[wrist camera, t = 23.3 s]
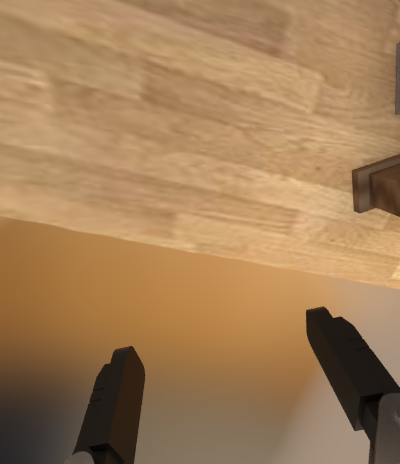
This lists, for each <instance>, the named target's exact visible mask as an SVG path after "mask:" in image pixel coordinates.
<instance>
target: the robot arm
mask: <svg viewBox="0 0 400 464" xmlns="http://www.w3.org/2000/svg"><path fill="white" fill-rule="evenodd" d="M306 327H307V337H308V340H309V342H310V345H311V347H312V349H313V351H314V353H315V355H316V357H317V359H318V361H319V363H320V365H321V367H322V368H323V370H324V373H325V374H326V376H327V378H328V380H329V382H330V384H331V386H332V388H333V390H334V392H335V394H336V396H337V398H338V400H339V402H340V404H341V406H342V407H343V409H344V411H345V413H346V415H347V417H348V419H349V421H350V423H351V425H352V427H353V429H354V431H358V430H364V431H365V433H366V434H367V436H368V438H369V440H370V449H369V463H368V464H400V387H399V386H398V385H397V383H396V382H395V381H394V379H393V378H392V377H391V375H390V374H389V373H388V371H387V370H386V369H385V367H384V366H383V364H382V363H381V362H380V360H379V359H378V358H377V357H376V355H375V354H374V352H373V351H372V350H371V349H370V348H369V346H368V345H367V343H366V342H365V340H364V339H362V336H361V335H360V334H359V332H358V331H357V330H356V328H355V327H354V326H353V325H352V324H351V323H349V322H348V321H347V320H345V319H343V318H342V317H336V318H333V317H332V316H331V314H330V313H329V311H328V310H327V309H326V308H325V307H318V308H314V309H309V310H307V311H306ZM144 383H145V370H144V366H143V364H142V362H141V360H140V358H139V357H138V355H137V353H136V351H135V349H134V348H133V347H132V346H129V347H125V348H120V349H116V350H115V351H114V352H113V355H112V359H111V363H110V364H105V365H104V366H103V368H102V370H101V371H100V373H99V374H98V376H97V378H96V381H95V385H94V388H93V393H92V395H91V398H90V403H89V404H88V408H87V411H86V414H85V417H84V421H83V424H82V427H81V431H80V434H79V437H78V441H77V444H76V447H75V449H74V452H73V454H72V456H70V457H69V458H68V459H67V460H66V461H65V462H64V463H63V464H134V458H135V451H136V443H137V435H138V427H139V420H140V412H141V405H142V398H143V390H144Z"/></svg>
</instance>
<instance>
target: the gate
mask: <svg viewBox="0 0 400 464" xmlns="http://www.w3.org/2000/svg"><path fill="white" fill-rule="evenodd" d="M352 180H353V199H354V211H355V212H358V213H362V212H365V211H368V210H371V209H374V208H379V209H381V210H384V211H386V212H389V213H391V214H394V215H397V216H399V217H400V154H399V155H396V156H393V157H390V158H387V159H384V160H382V161H379V162H376V163H373V164H370V165H367V166H365V167H362V168H359V169H356V170H353V171H352Z"/></svg>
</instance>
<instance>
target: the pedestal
mask: <svg viewBox="0 0 400 464" xmlns="http://www.w3.org/2000/svg"><path fill="white" fill-rule="evenodd" d="M397 114H400V43H399V44H397V65H396V112H395V115H397Z"/></svg>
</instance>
